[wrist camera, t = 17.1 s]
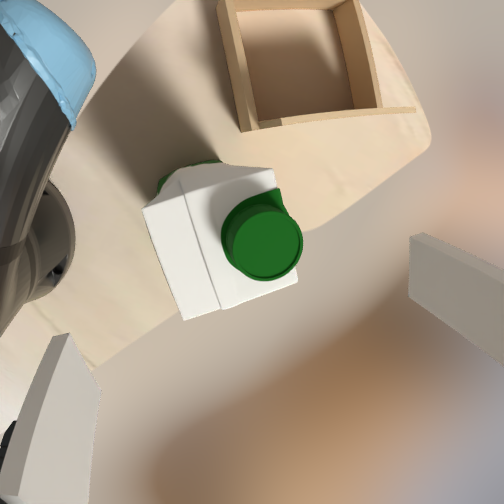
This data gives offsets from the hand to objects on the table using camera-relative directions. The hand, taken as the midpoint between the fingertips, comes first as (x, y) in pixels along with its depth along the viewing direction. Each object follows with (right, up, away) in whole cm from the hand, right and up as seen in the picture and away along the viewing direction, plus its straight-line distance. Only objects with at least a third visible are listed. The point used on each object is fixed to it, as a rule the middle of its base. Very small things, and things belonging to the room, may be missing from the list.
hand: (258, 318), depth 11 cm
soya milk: (-6, +8, +25) cm, 27 cm away
